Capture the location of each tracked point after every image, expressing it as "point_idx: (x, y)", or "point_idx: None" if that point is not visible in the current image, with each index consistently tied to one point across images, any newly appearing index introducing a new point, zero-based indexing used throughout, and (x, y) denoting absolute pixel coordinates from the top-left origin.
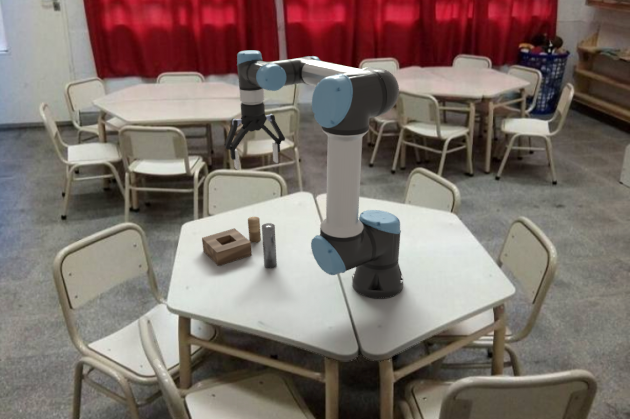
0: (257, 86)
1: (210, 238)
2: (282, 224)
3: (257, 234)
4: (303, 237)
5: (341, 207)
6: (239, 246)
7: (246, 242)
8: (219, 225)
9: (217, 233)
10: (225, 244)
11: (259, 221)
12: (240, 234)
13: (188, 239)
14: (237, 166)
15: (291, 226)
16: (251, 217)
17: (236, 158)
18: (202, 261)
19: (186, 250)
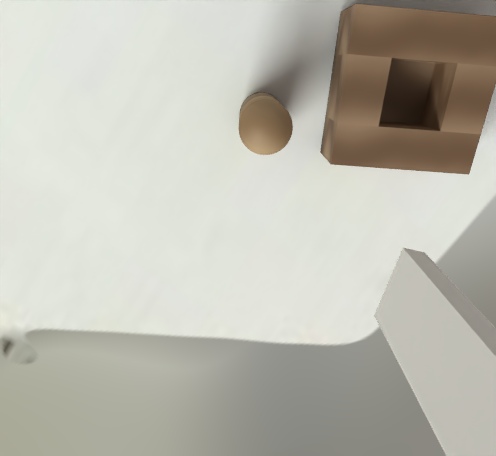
0: None
1: (450, 148)
2: (112, 156)
3: (263, 95)
4: (93, 3)
5: None
6: (409, 9)
7: (372, 13)
8: (295, 283)
9: (406, 167)
10: (444, 59)
11: (246, 107)
12: (346, 98)
13: None
14: (430, 268)
15: (90, 120)
16: (263, 149)
17: (488, 322)
18: None
19: (473, 202)
